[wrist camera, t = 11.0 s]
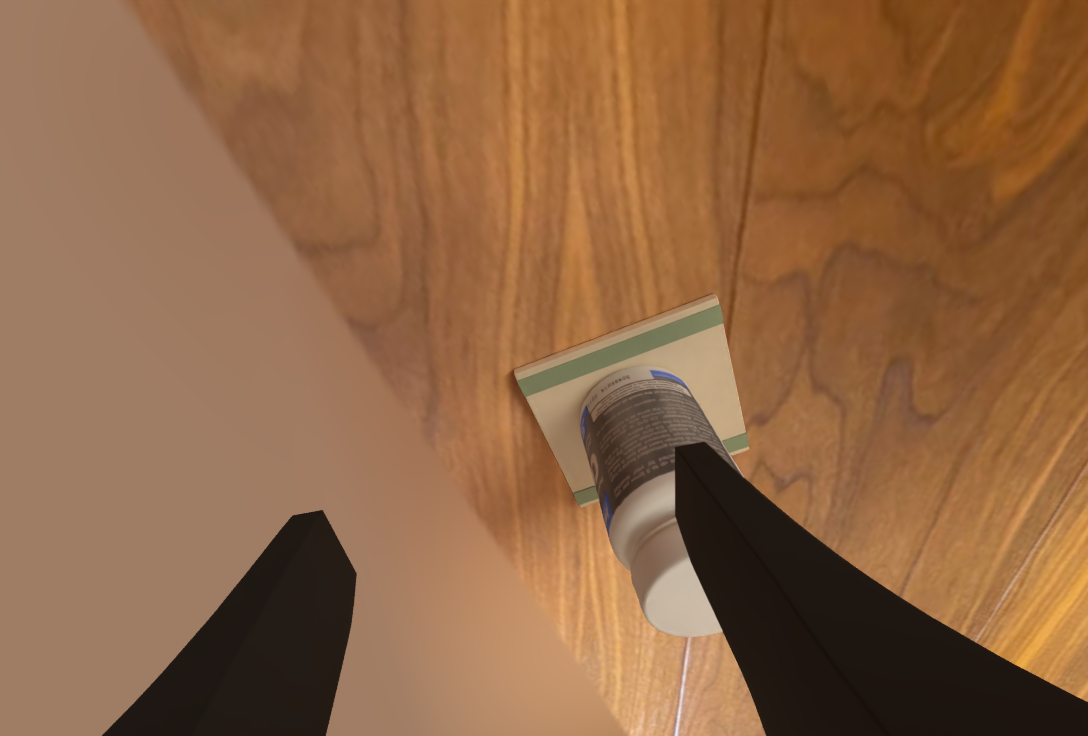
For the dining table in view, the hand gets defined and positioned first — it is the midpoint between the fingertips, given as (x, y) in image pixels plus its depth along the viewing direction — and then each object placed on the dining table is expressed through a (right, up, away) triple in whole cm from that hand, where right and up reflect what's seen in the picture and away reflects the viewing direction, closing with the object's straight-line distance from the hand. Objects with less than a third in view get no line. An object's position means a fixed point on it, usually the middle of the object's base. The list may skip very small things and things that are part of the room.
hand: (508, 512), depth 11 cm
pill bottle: (+4, +1, +11) cm, 12 cm away
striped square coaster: (+5, +1, +11) cm, 12 cm away
